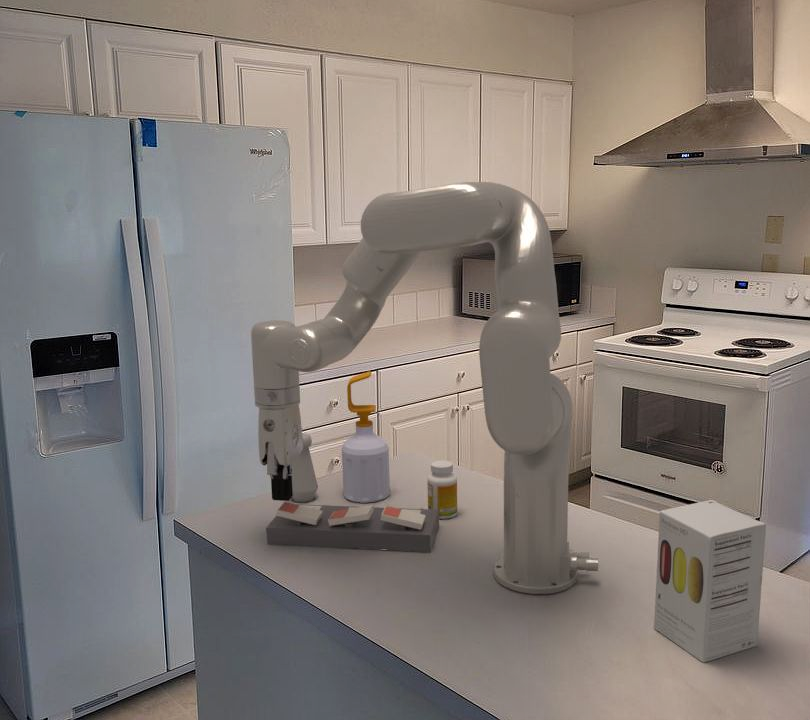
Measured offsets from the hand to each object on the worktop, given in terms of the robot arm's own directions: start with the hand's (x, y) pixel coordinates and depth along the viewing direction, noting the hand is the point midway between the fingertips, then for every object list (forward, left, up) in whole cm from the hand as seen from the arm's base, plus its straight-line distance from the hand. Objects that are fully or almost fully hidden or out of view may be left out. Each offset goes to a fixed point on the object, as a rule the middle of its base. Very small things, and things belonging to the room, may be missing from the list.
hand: (282, 498), depth 139 cm
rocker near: (-21, 0, -3) cm, 21 cm away
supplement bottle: (-26, -13, -7) cm, 30 cm away
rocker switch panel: (-12, -2, -7) cm, 14 cm away
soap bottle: (-10, -21, -7) cm, 24 cm away
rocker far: (-3, 0, -3) cm, 4 cm away
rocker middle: (-12, 0, -3) cm, 12 cm away
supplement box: (-65, +25, -7) cm, 70 cm away
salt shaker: (+2, -18, -7) cm, 20 cm away
